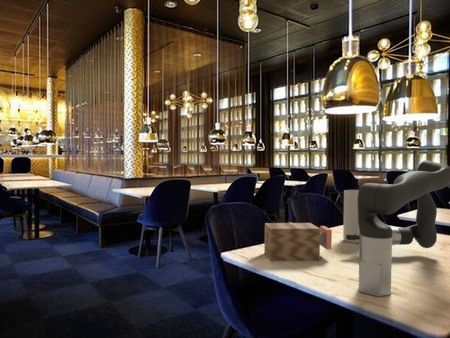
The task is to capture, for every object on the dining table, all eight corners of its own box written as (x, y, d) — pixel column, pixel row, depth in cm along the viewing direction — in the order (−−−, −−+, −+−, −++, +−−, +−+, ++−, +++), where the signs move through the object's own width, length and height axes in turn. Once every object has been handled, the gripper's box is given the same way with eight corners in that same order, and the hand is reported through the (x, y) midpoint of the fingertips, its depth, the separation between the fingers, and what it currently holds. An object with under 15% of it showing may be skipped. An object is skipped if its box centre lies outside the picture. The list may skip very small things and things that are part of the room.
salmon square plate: (324, 244, 148) (324, 226, 148) (331, 249, 140) (331, 229, 140) (278, 245, 147) (278, 226, 147) (282, 250, 139) (283, 230, 139)
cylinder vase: (348, 237, 181) (349, 189, 181) (373, 240, 173) (374, 191, 173) (339, 241, 172) (340, 191, 171) (365, 245, 164) (366, 192, 163)
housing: (309, 252, 150) (310, 222, 150) (319, 260, 138) (320, 227, 138) (264, 253, 149) (264, 222, 148) (270, 261, 137) (270, 228, 136)
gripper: (378, 224, 153) (340, 225, 152) (395, 231, 140) (353, 231, 138) (378, 241, 153) (340, 242, 152) (395, 249, 140) (353, 250, 139)
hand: (346, 237), depth 145 cm, fingers closed
